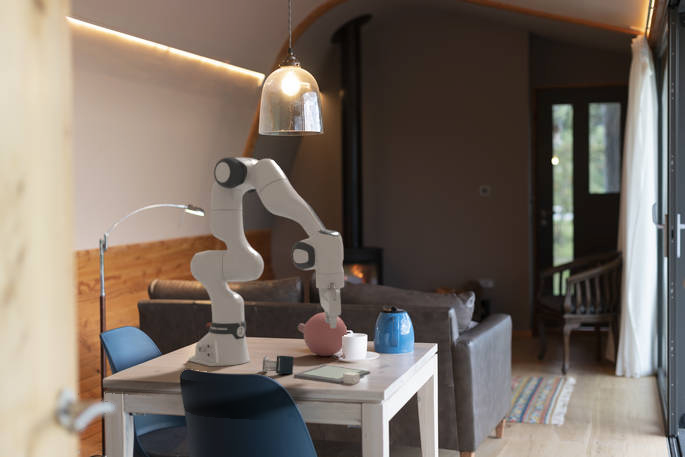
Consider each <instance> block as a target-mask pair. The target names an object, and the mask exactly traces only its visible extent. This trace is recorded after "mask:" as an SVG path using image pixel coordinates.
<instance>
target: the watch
mask: <svg viewBox="0 0 685 457" xmlns="http://www.w3.org/2000/svg"><path fill="white" fill-rule="evenodd" d="M269 370H275V373H276V374H281V375H294V356H293V355H292V356H291V355H276V360H270V358H269V357H268V355H265V356H263V360H262V373H268V371H269Z"/></svg>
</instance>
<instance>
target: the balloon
mask: <svg viewBox="0 0 685 457" xmlns="http://www.w3.org/2000/svg"><path fill="white" fill-rule="evenodd" d="M297 329H298V330H299V332H301V333H302V334H303V340H304V342H305V345H306V347H307V348H308V349H309V350H310V352H312V353H314V354H315V355H318V356H321V357H330V356H333V354H334V355H335V354H337V353H339V352H340V351H341V350H342V349H343V348H342V336H344V335H347V336H348V329H347V326H346V324H345V322H344V321H343V320H342V318H340V316H339V315H337V322H336V328H331V327H330V323H327V322H326V317H325V311H323V312H319V313H316V314H314V315H313V316H311V317H310V318H309V319H308V321H307V322H305V324H304V323H301V322H300V323H299V324H298V325H297Z"/></svg>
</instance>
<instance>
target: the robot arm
mask: <svg viewBox="0 0 685 457" xmlns="http://www.w3.org/2000/svg"><path fill="white" fill-rule="evenodd" d="M213 176H214V180H215V181H214V183H213V185H212V187H211V189H212V190H211V194H210V195H211V196H210V208H209V209H210V212H209V214H210V218H209V219H210V232H211V234H212V235H213V237H215V238H216V239H218V240H220V241H222V242H224V243H225V245H226V249H224V250H220V249H218V250H211V249H210V250H205V251H201V252H196V253H195V254H194V255H193V256H192V258H191V260H190V264H189V265H190V266H189V267H190V269H189V270H190V272H191V274H192V276H193V278H194V279H195V280H197V281H198V282H199V283H200V284H201V285H202V286H203V287H204V288H205V290H206V292H207V294H208V296H209V300H210V303H211V313H212V314H211V316H212V318H211V319H212V321H211V322H208V323H206V325H207V326H206V327H207V328H209V329H208V333H206V334H205V335H204V336H203V337H202V338H201V339H200V340H199V341H198V342H196V344H195V350H194V352H195V353H194V354H193V355H192V356H190V357H188V361H189V362H192V363H196V364H200V365H204V366H207V367H219V366H221V367H222V366H223V367H224V366H236V365H243V364H246V363H249V362H250V361H251V358H250V354H249V350H248V344H247V343H248V342H247V337H246V331H247V327H246V326H247V323H246V320H245V303H244V302H245V300H244V299H243V297H242V296H241V295H240V294H239V293H237V292H235V291H234V290H232V289H230V287H229V285H228V283H235V282H241V283H244V282H250V281H255V280H258V279H259V278H260V277H261V275H262V274H263V272H264V267H265V262H264V260H263V258H262V255H261V254H260V253H259V252H258V251H256V250H255V249H254V248H253V247H252V246H251V245H250V243H249V241H248V240H247V237H246V235H245V230H244V220H243V219H244V218H243V196H244V195H245V193H248V194H253V193H254V192H256V193H257V195H258V197H259V198H260V201H261V202H262V205H263V206H264V207H265V209H266V210H267V211H268V212H269V213H272V214H273V215H275V216H279V217H282V218H283V217H284V218H287V219H290V220H292V221H294V222H296V223H298V224H299V225H300V226H301V227H302V228H303V230H304V231H305V232H306V234H307V235H308V238H306V239H302V240H300V241H297V242H295V244H294V245H293V247H292V248H291V253H290V254H291V260H292V263H293V265H294V266H295V268H297V269H298V270H302V271H309V270H311V271H312V270H315V287H316V288H317V289H318V295H319V301H320V302H319V303H320V306H321V307H322V308H323V310H324V311H323V312H325V317H326V322H327V323H330V327H331V328H336V322H337V316H341V315H342V314H341V313H342V306H341V305H342V304H341V303H342V302H341V301H342V300H341V289H342V288H344V287H345V271H344V268H343V264H344V263H343V261H344V244H343V238H342V236H341V233H340V232H338V231H337V230H336V231H335V230H333V229H327V228H326V227H325V225H324V224H323V222H322V220H321V219H320V218H319V217H318V215H317V214H316V213H315V211H314V210H313V208H312V207H311V205H309V203H308V202H307V201H306V200H305V199H303V198H302V197H301V195H299V194H298V192H297V191H296V190H295V188H294V187H293V186H292V184H291V183H290V181H289V179H288V177H287V175H286V174H285V172H284V170H282V169H281V167H280V165H278V164H277V163H276V162H275V160H273V159H272V158H262V159H258V158H252V157H247V156H246V157H245V156H243V157H234V156H233V157H232V156H228V157H223V158H221V159H220V160H218V161H217V163H216V164H215V166H214V171H213Z"/></svg>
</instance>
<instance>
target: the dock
mask: <svg viewBox="0 0 685 457" xmlns="http://www.w3.org/2000/svg"><path fill="white" fill-rule="evenodd" d="M370 374H371V371H369V370H365V369H364V370H363V369H357V368H351V367H343V366H334V365H329V364H322V365H320V366H317V367H314V368H310V369H308V370H304V371H300V372H298V373H297V372H296V373H293V378H296V379H298V378H299V379H304V380H311V381H319V382H325V383H332V384H333V383H334V384H351V385H355V384H359V383H360V382H361V380H360V379H363V378H365V376H367V375H370Z"/></svg>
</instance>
